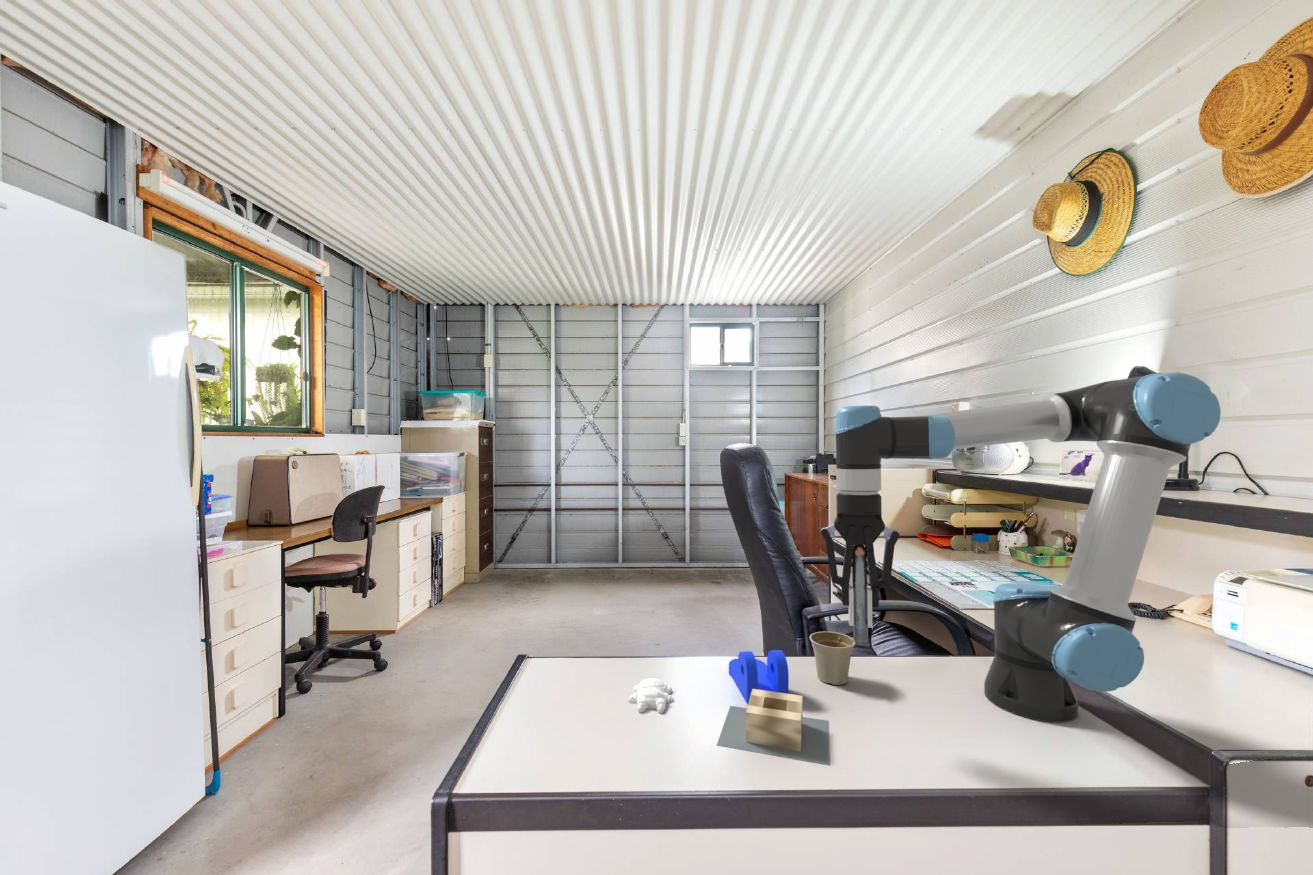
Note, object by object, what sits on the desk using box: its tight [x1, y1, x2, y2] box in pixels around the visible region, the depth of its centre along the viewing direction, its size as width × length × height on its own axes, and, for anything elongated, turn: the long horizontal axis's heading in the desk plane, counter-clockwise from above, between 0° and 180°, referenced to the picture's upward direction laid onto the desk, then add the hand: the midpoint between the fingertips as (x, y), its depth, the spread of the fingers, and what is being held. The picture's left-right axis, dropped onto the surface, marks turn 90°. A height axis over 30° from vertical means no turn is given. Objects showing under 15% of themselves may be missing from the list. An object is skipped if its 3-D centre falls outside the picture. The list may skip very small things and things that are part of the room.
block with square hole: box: [746, 689, 804, 751], centre depth 93 cm, size 9×9×5 cm
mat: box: [716, 705, 831, 766], centre depth 93 cm, size 18×14×1 cm
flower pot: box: [809, 631, 856, 686], centre depth 115 cm, size 9×9×9 cm
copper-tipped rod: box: [851, 544, 869, 645], centre depth 94 cm, size 3×3×17 cm
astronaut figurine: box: [628, 677, 674, 715], centre depth 106 cm, size 9×12×3 cm
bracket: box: [728, 649, 790, 705], centre depth 112 cm, size 18×8×9 cm, turn 6°
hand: (860, 623), depth 94 cm, fingers closed on copper-tipped rod, 2 cm apart
